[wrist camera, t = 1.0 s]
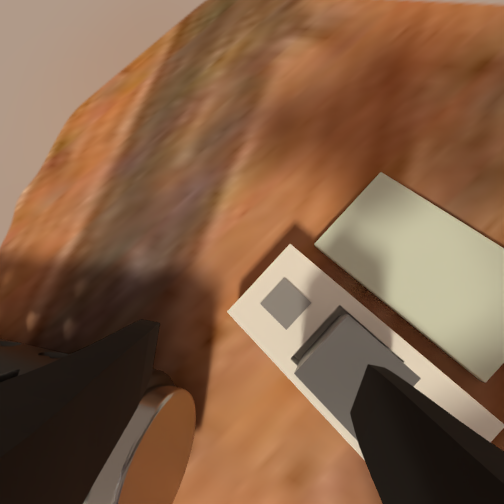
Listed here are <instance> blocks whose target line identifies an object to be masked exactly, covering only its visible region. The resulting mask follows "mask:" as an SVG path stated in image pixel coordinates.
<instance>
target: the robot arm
mask: <svg viewBox="0 0 504 504" xmlns="http://www.w3.org/2000/svg"><path fill="white" fill-rule="evenodd" d="M159 326H160V323H158V322H153V321H148V320H143V319H141V320H139V321H137V322H135V323H133V324H131V325H129V326H127V327H125V328H123V329H121V330H119V331H117V332H115V333H113V334H111V335H109V336H107V337H105V338H103V339H101V340H99V341H97V342H95V343H93V344H91V345H89V346H87V347H85V348H83V349H81V350H78V351H76V352H74V353H72V354H70V355H67V356H65V357H63V358H61V359H58V360H56V361H54V362H52V363H49V364H47V365H45V366H42V367H40V368H37V369H35V370H32V371H30V372H27V373H25V374H22V375H19V376H16V377H14V378H11V379H8V380H5V381H3V382H0V504H83V503H84V501H85V499H86V497H87V495H88V493H89V491H90V490H91V488H92V486H93V484H94V482H95V481H96V479H97V477H98V475H99V474H100V472H101V470H102V469H103V467H104V465H105V463H106V462H107V460H108V458H109V456H110V455H111V453H112V451H113V449H114V448H115V446H116V444H117V443H118V441H119V439H120V437H121V436H122V434H123V432H124V430H125V429H126V427H127V425H128V423H129V422H130V420H131V418H132V416H133V415H134V413H135V411H136V409H137V407H138V406H139V403H140V401H141V399H142V397H143V394H144V392H145V390H146V387H147V385H148V383H149V380H150V378H151V375H152V369H153V363H154V357H155V351H156V345H157V339H158V332H159ZM350 415H351V419H352V423H353V427H354V431H355V434H356V437H357V440H358V444H359V447H360V449H361V452H362V454H363V457H364V459H365V462H366V464H367V467H368V469H369V472H370V474H371V477H372V479H373V481H374V484H375V486H376V489H377V491H378V493H379V496H380V498H381V500H382V503H383V504H504V451H502V450H501V449H499V448H498V447H496V446H495V445H494V444H492V443H491V442H489V441H488V440H486V439H485V438H483V437H482V436H481V435H479V434H478V433H476V432H475V431H473V430H472V429H471V428H469V427H468V426H466V425H465V424H464V423H462V422H461V421H459V420H458V419H457V418H455V417H454V416H453V415H451V414H450V413H448V412H447V411H446V410H444V409H443V408H442V407H440V406H439V405H438V404H436V403H435V402H434V401H432V400H431V399H429V398H428V397H427V396H425V395H424V394H423V393H421V392H420V391H419V390H417V389H416V388H415V387H413V386H412V385H410V384H409V383H408V382H406V381H405V380H403V379H402V378H401V377H399V376H398V375H396V374H395V373H393V372H392V371H390V370H388V369H387V368H385V367H380V366H375V365H370V364H368V365H367V368H366V370H365V373H364V376H363V379H362V381H361V384H360V387H359V389H358V392H357V395H356V398H355V400H354V403H353V406H352V409H351V411H350Z"/></svg>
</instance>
